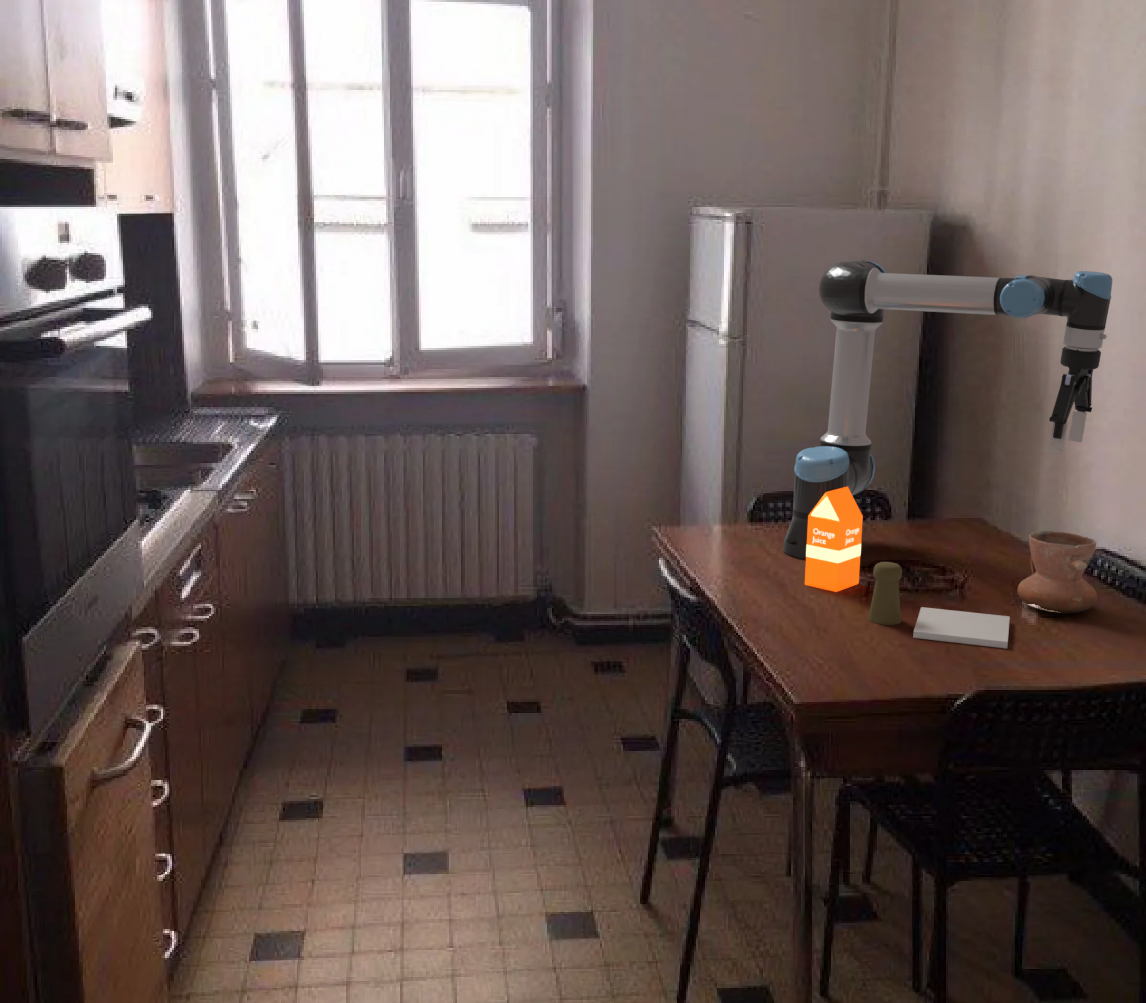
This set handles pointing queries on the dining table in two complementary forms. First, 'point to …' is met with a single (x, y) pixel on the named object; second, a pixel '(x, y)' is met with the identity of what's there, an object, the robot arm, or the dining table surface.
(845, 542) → the orange juice
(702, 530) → the dining table surface
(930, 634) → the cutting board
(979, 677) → the dining table surface
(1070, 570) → the ceramic jug
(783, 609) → the dining table surface
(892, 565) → the cork
